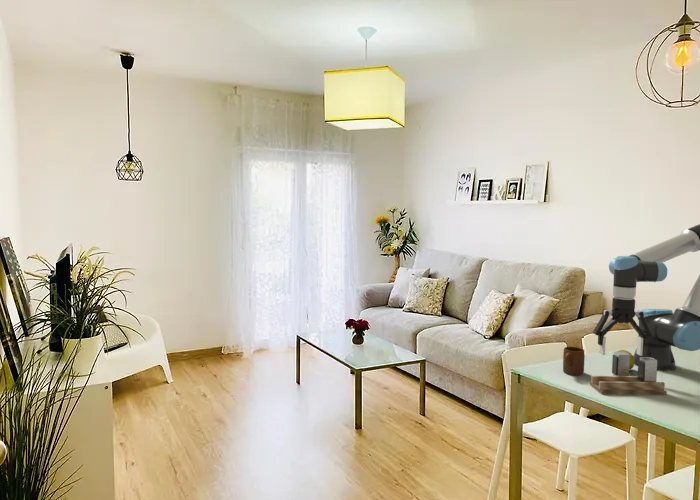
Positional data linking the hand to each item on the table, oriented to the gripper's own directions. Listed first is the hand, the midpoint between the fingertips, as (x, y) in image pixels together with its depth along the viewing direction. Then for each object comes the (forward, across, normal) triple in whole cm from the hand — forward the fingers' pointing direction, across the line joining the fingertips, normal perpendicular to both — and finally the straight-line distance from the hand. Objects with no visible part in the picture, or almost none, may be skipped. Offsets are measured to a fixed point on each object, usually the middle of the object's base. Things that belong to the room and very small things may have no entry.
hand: (620, 354), depth 196 cm
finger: (+8, -4, +11) cm, 14 cm away
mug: (+10, +15, -6) cm, 19 cm away
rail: (+10, +2, +11) cm, 15 cm away
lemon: (+10, -7, -11) cm, 16 cm away
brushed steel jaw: (+10, -1, 0) cm, 10 cm away
